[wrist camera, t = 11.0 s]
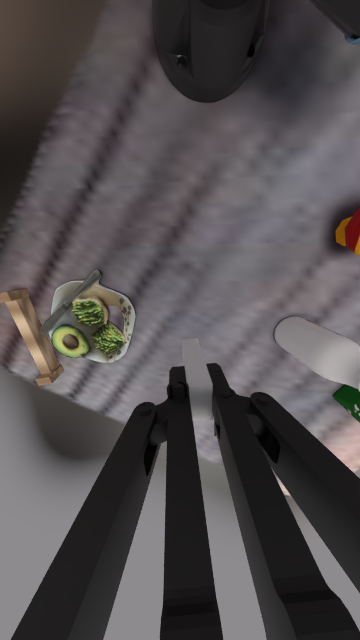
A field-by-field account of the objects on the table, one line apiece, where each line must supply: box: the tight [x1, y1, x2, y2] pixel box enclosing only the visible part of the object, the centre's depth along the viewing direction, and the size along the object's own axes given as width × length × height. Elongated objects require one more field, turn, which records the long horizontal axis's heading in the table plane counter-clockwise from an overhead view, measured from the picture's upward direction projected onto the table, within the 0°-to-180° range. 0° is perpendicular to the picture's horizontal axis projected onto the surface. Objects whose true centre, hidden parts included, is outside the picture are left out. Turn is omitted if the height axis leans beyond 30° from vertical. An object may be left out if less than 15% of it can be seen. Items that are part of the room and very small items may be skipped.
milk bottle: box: [274, 316, 360, 392], centre depth 31 cm, size 8×8×20 cm
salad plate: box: [40, 270, 136, 363], centre depth 35 cm, size 19×18×5 cm
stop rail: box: [0, 288, 64, 386], centre depth 36 cm, size 19×3×4 cm, turn 10°
